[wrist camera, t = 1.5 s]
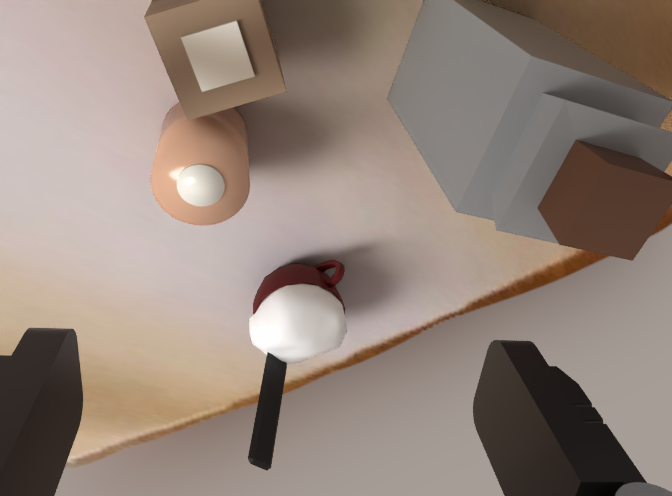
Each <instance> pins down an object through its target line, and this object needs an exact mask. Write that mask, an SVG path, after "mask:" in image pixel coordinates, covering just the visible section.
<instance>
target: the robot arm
mask: <svg viewBox="0 0 672 496" xmlns="http://www.w3.org/2000/svg"><path fill="white" fill-rule="evenodd" d="M82 408H83V390H82V381H81V371H80V362H79V353H78V344H77V336H76V333H75V331H74V329H56V328H29V329H27V330H26V332H25V333H24V335H23V337H22V338H21V340H20V342H19V344H18V345H17V347H16V349H15V350H14V352H13V354H12V356H0V496H54V495H55V492H56V489H57V487H58V484H59V481H60V478H61V476H62V473H63V470H64V467H65V464H66V462H67V459H68V456H69V453H70V451H71V448H72V445H73V442H74V440H75V437H76V434H77V431H78V428H79V425H80V421H81V416H82ZM473 416H474V423H475V426H476V430H477V432H478V435H479V437H480V439H481V442H482V444H483V446H484V449H485V451H486V453H487V456H488V458H489V460H490V463H491V465H492V467H493V470H494V472H495V474H496V477H497V479H498V481H499V484H500V486H501V488H502V491H503V493H504V495H505V496H672V492H670V491H668V490H666V489H664V488H661V487H659V486H656V485H653V484H649V483H647V482H646V481H645V479H644V478H643V477H642V475H641V474H640V472H639V471H638V469H637V468H636V466H635V465H634V464H633V462H632V461H631V459H630V458H629V456H628V455H627V454H626V452H625V451H624V449H623V448H622V446H621V445H620V444H619V442H618V441H617V439H616V438H615V436H614V435H613V433H612V432H611V430H610V429H609V428H608V426H607V425H606V424H603V419H602V417H601V416H600V415H599V413H598V412H597V410H596V409H595V408H594V407H592V403H591V402H590V400H589V399H588V398H587V396H586V394H585V393H584V392H583V390H582V389H581V387H580V386H579V384H577V383H576V382H575V381H574V380H572V379H571V378H570V377H569V376H568V375H566V374H565V373H564V372H563V371H562V370H560V369H559V368H558V367H556V366H549V365H548V364H547V362H546V361H545V359H544V358H543V356H542V355H541V353H540V352H539V350H538V349H537V347H536V346H535V345H534V344H533V343H532V342H531V341H507V340H506V341H505V340H494V341H493V342H491V344H490V345H489V348H488V351H487V354H486V358H485V361H484V365H483V368H482V372H481V376H480V379H479V383H478V387H477V390H476V394H475V397H474V403H473Z"/></svg>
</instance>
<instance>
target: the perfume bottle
mask: <svg viewBox="0 0 672 496" xmlns="http://www.w3.org/2000/svg"><path fill="white" fill-rule="evenodd" d="M387 100H388V101H389V103H390V104H391V106H392V108H393V109H394V111H395V113H396V114H397V116H398V118H399V119H400V121H401V123H402V124H403V126H404V128H405V129H406V131H407V132H408V134H409V136H410V137H411V139H412V141H413V142H414V144H415V146H416V147H417V149H418V151H419V152H420V154H421V155H422V157H423V159H424V160H425V162H426V164H427V165H428V167H429V169H430V170H431V172H432V174H433V175H434V177H435V179H436V180H437V182H438V183H439V185H440V187H441V188H442V190H443V192H444V193H445V195H446V197H447V198H448V200H449V202H450V203H451V205H452V207H453V208H454V210H455V211H456V212H459V213H463V214H467V215H472V216H476V217H481V218H485V219H490V220H494V221H495V226H496V230H498V231H502V232H507V233H512V234H516V235H521V236H525V237H530V238H534V239H539V240H543V241H548V242H552V243H557V244H559V245H564V246H568V247H573V248H577V249H582V250H586V251H591V252H595V253H600V254H605V255H609V256H614V257H618V258H623V259H628V260H633V259H634V258H635V256H636V255H637V253H638V252H639V251H640V249H641V248H642V246H643V245H644V243H645V242H646V240H647V239H648V238H649V236H650V235H651V233H652V232H653V230H654V229H655V227H656V226H657V224H658V223H659V222H660V220H661V219H662V217H663V216H664V214H665V213H666V211H667V210H668V209H669V207H670V206H671V204H672V177H671V176H670V175H668V174H666V173H665V172H664V171H665V170H666V168H667V167H668V165H669V164H670V162H671V161H672V132H670V131H666V130H663V129H660V126H661V124H662V123H663V121H664V120H665V118H666V116H667V115H668V113H669V112H670V110H671V109H672V100H670V99H668V98H667V97H665V96H663V95H662V94H660V93H658V92H657V91H655V90H653V89H651V88H650V87H648V86H646V85H645V84H643V83H641V82H640V81H638V80H636V79H634V78H633V77H631V76H629V75H628V74H626V73H624V72H623V71H621V70H619V69H618V68H616V67H614V66H612V65H611V64H609V63H607V62H606V61H604V60H602V59H601V58H599V57H597V56H595V55H594V54H592V53H590V52H589V51H587V50H585V49H584V48H582V47H580V46H578V45H577V44H575V43H573V42H572V41H570V40H568V39H567V38H565V37H563V36H562V35H560V34H558V33H556V32H555V31H553V30H551V29H550V28H548V27H546V26H545V25H543V24H541V23H539V22H538V21H536V20H534V19H532V18H529V17H526V16H523V15H520V14H517V13H514V12H511V11H508V10H505V9H503V8H500V7H497V6H494V5H491V4H488V3H485V2H482V1H479V0H424V1H423V4H422V7H421V9H420V12H419V15H418V17H417V20H416V23H415V25H414V28H413V31H412V33H411V36H410V39H409V41H408V44H407V47H406V49H405V52H404V55H403V57H402V60H401V63H400V65H399V68H398V71H397V73H396V76H395V79H394V81H393V84H392V87H391V89H390V92H389V95H388V97H387Z"/></svg>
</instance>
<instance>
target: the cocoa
mask: <svg viewBox="0 0 672 496" xmlns="http://www.w3.org/2000/svg"><path fill="white" fill-rule="evenodd" d="M334 267H336V272H335V273H334V275H333V276H332V277H331V278H329V276H328V275H327V274H326V273H324V271H325V270H327V269H330V268H334ZM344 272H345V270H344V265H343V264H342V263H340V262H338V261H336V260H329V261H325V262H322V263H320V264H317V265H316V266H310V265H303V264H292V265H287V266H283V267H279V268H278V269H276V270H275V271H273V272H272V273H271V274H269V275H268V276H266V277H265V279H264V280H263V282H262V284H261V286H260V287H259V289H258V291H257V294H256V296H255V299H254V303H253V316H252V317H251V318H250V319H249V328H250V336H251V339H252V343H253V345H255V346H256V347H257V348H259V349H260V350H262V351H263V352H264V353H265V354H266V355H267V358H266V363H265V369H264V374H263V380H262V385H261V390H260V396H259V401H258V407H257V413H256V418H255V423H254V428H253V434H252V440H251V445H250V450H249V456H248V460H249V462H250V463H251V464H253V465H255V466H257V467H260V468H262V469H265V470H268V469H270V468H271V464H272V457H273V451H274V444H275V438H276V432H277V426H278V419H279V413H280V406H281V400H282V394H283V387H284V381H285V375H286V368H287V366H288V365H292V364H296V363H300V362H302V361H304V360H307V359H309V358H311V357H314V356H317V355H320V354H323V353H326V352H328V351H331V350H333V349H336V348H338V347H340V345H341V343H342V341H343V339H344V337H345V335H346V333H347V326H346V320H345V307H344V303H343V300H342V298H341V296H340V294H339V293H338V291H337V289H336V287H335V285H336V284H337V283H338V282H339V281H340V280H341V279H342V277H343V275H344Z"/></svg>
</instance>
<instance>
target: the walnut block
mask: <svg viewBox="0 0 672 496" xmlns="http://www.w3.org/2000/svg"><path fill="white" fill-rule="evenodd" d="M144 18H145V20H146V23H147V25H148V27H149V30H150V32H151V35H152V37H153V39H154V42H155V44H156V46H157V49H158V51H159V54H160V56H161V58H162V61H163V63H164V66H165V68H166V70H167V73H168V75H169V78H170V80H171V82H172V85H173V87H174V89H175V92H176V94H177V97H178V99H179V101H180V104H181V106H182V109H183V111H184V113H185V116H186V118H187V121H188V120H191V119H195V118H198V117H202V116H205V115H208V114H212V113H215V112H219V111H222V110H225V109H229V108H232V107H236V106H239V105H243V104H246V103H249V102H253V101H256V100H260V99H263V98H266V97H270V96H273V95H277V94H280V93H283V92H286V88H285V83H284V79H283V74H282V70H281V65H280V61H279V56H278V53H277V49H276V46H275V43H274V39H273V36H272V33H271V29H270V26H269V23H268V20H267V16H266V13H265V10H264V6H263V3H262V0H152V2H151V4H150V6H149V8H148V10H147V12H146V14H145V17H144Z"/></svg>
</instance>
